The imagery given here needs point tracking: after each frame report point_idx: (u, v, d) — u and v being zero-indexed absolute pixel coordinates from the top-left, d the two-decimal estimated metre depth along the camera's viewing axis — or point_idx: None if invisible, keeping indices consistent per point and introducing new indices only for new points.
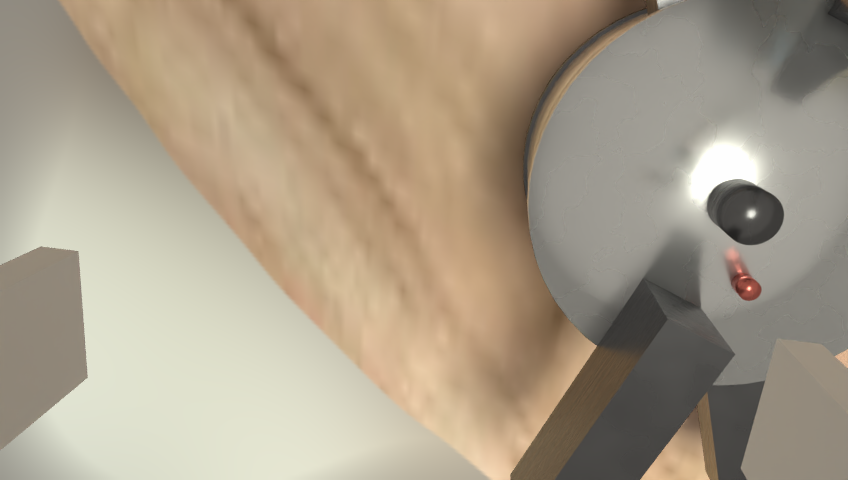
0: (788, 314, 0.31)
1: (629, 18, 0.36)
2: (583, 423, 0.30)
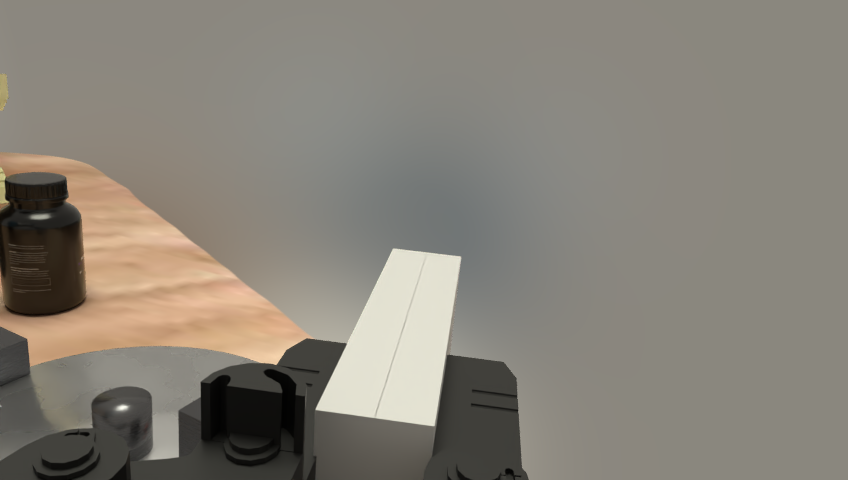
0: None
1: None
2: None
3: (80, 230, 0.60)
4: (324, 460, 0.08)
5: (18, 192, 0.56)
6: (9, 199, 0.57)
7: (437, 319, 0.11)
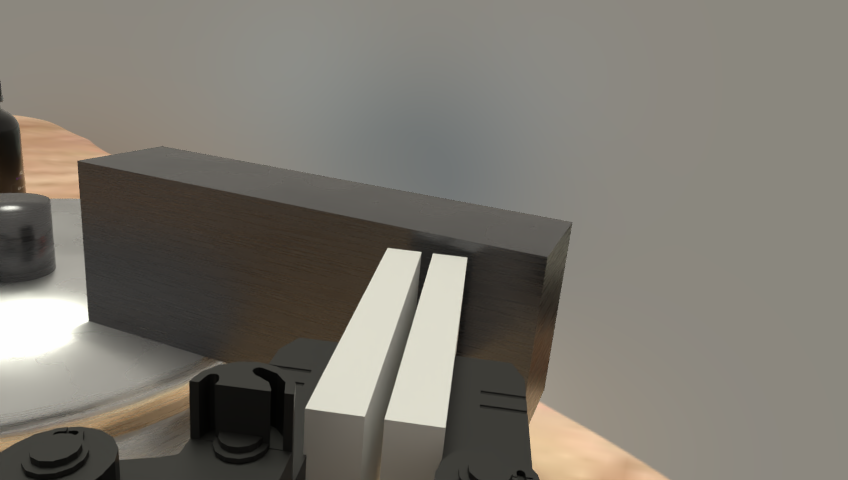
0: None
1: None
2: (276, 237, 0.16)
3: (17, 140, 0.53)
4: (314, 459, 0.08)
5: None
6: None
7: (445, 321, 0.11)
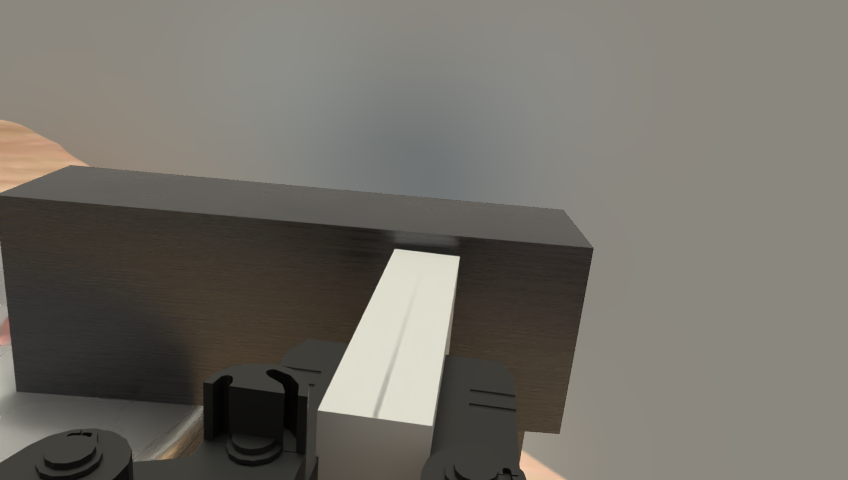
0: None
1: None
2: (293, 260, 0.15)
3: None
4: (326, 461, 0.08)
5: None
6: None
7: (435, 319, 0.11)
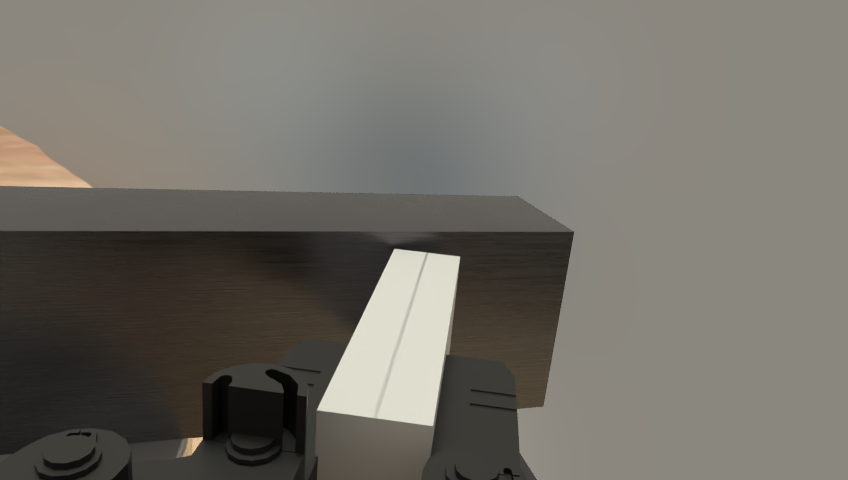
0: None
1: None
2: (292, 272, 0.14)
3: None
4: (325, 461, 0.08)
5: None
6: None
7: (436, 320, 0.11)
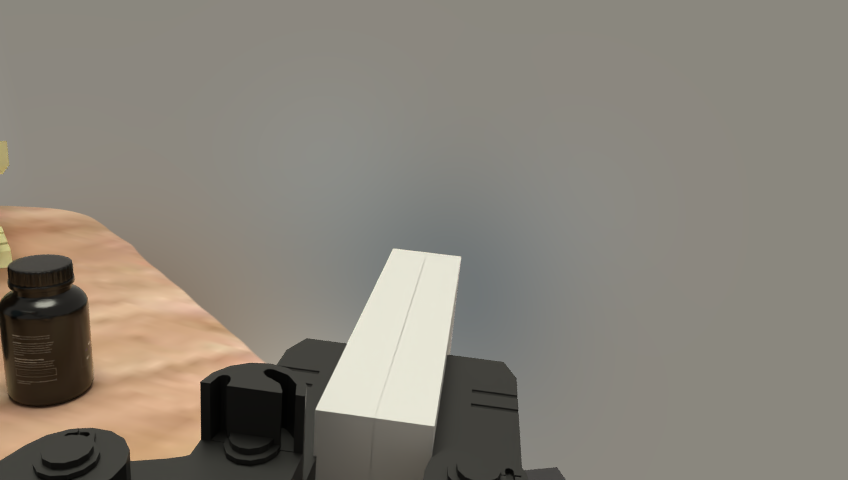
0: None
1: None
2: None
3: (87, 314, 0.58)
4: (324, 460, 0.08)
5: (22, 280, 0.54)
6: (13, 287, 0.54)
7: (437, 319, 0.11)
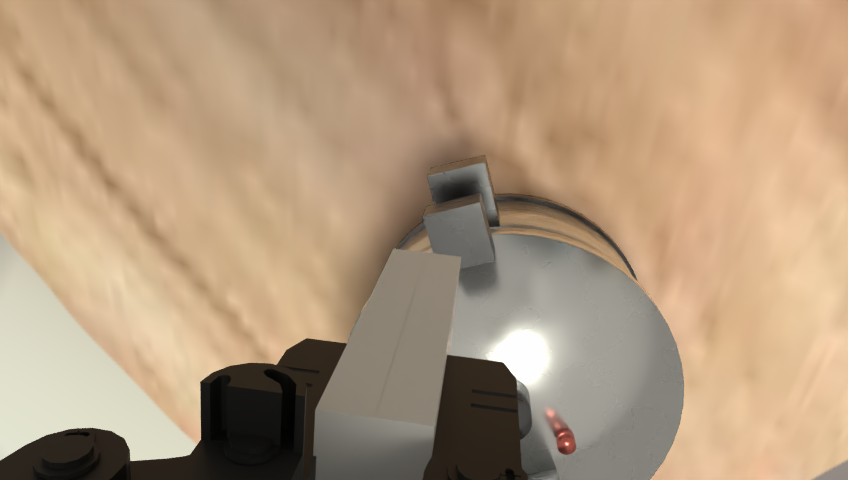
0: (615, 432, 0.36)
1: None
2: None
3: None
4: (324, 460, 0.08)
5: None
6: None
7: (437, 320, 0.11)
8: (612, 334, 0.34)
